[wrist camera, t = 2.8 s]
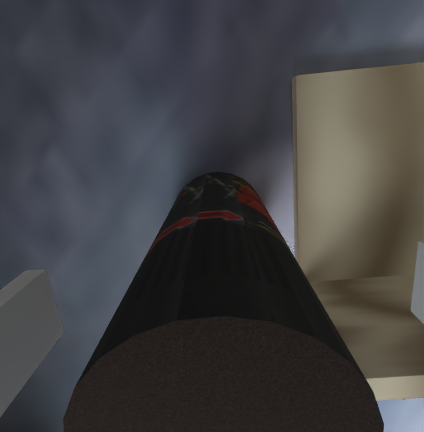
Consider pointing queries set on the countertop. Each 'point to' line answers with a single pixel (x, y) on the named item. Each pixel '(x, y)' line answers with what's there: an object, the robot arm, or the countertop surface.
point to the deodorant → (221, 333)
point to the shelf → (364, 213)
